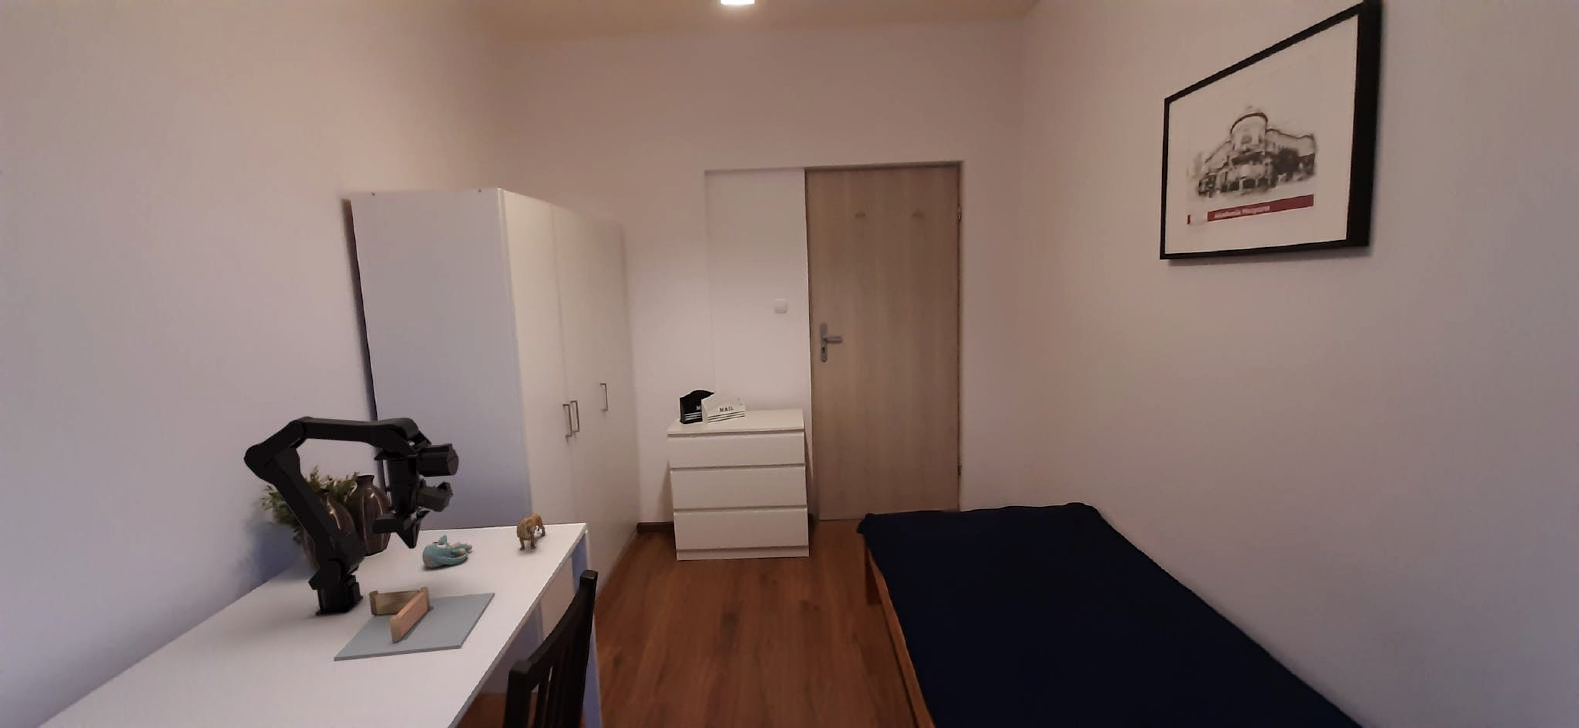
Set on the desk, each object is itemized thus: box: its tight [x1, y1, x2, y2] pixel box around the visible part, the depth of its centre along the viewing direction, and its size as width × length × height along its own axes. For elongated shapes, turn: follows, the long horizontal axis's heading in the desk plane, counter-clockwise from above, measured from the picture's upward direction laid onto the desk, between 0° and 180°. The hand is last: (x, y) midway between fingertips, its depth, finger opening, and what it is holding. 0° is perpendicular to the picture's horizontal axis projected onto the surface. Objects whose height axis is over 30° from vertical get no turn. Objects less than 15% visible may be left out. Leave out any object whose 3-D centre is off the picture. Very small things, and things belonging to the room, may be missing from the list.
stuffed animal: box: [421, 534, 473, 568], centre depth 157 cm, size 11×7×12 cm
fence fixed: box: [368, 589, 421, 616], centre depth 131 cm, size 10×2×4 cm, turn 97°
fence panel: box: [389, 586, 430, 642], centre depth 127 cm, size 13×2×4 cm, turn 4°
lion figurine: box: [516, 513, 547, 552], centre depth 165 cm, size 15×5×9 cm, turn 12°
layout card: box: [333, 592, 496, 661], centre depth 128 cm, size 22×20×1 cm
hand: (412, 548), depth 136 cm, fingers closed
